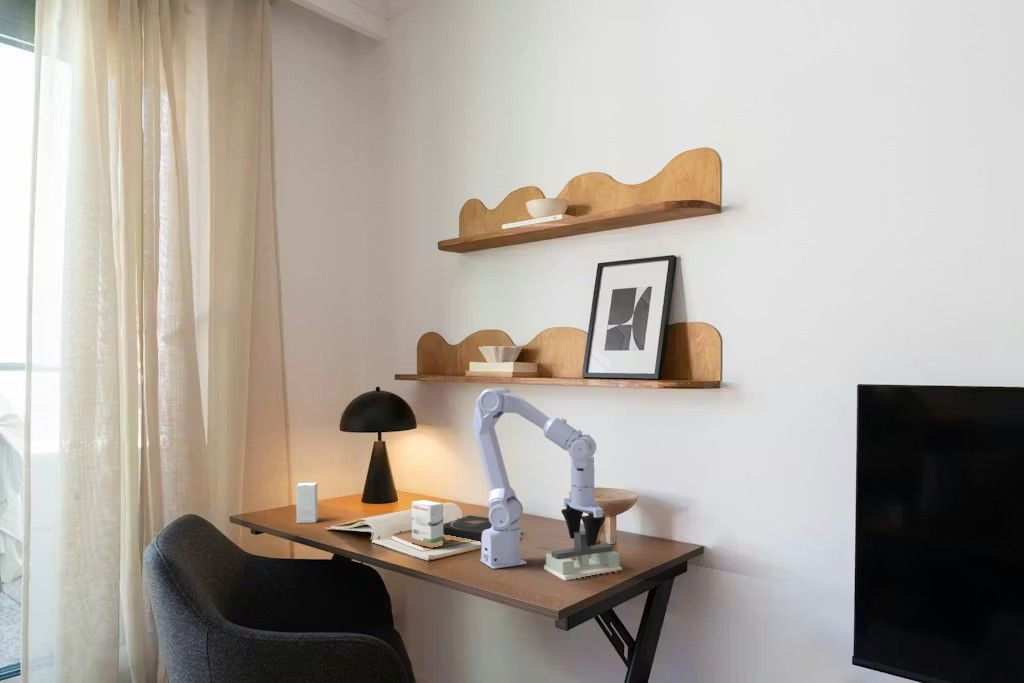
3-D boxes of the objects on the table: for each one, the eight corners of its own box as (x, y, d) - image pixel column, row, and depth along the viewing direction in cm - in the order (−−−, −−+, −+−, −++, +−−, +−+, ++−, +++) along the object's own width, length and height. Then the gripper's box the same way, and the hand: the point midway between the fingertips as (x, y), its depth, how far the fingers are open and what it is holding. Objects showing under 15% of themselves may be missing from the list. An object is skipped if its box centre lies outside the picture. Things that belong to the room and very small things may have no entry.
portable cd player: (467, 528, 212) (467, 515, 212) (515, 535, 203) (515, 521, 203) (435, 539, 197) (435, 526, 198) (485, 548, 189) (485, 533, 189)
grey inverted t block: (557, 559, 162) (557, 538, 162) (551, 556, 165) (551, 535, 165) (613, 551, 169) (613, 530, 170) (606, 548, 172) (606, 528, 172)
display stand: (565, 580, 159) (565, 563, 159) (544, 569, 168) (544, 552, 168) (621, 571, 166) (621, 554, 166) (598, 560, 175) (598, 544, 175)
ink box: (444, 545, 189) (444, 502, 190) (430, 549, 186) (430, 505, 186) (424, 540, 195) (424, 498, 195) (410, 543, 191) (410, 501, 192)
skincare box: (318, 520, 220) (318, 482, 221) (315, 523, 216) (316, 484, 216) (298, 520, 219) (298, 482, 220) (295, 523, 215) (295, 484, 215)
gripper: (613, 489, 163) (613, 546, 163) (580, 479, 176) (580, 533, 176) (588, 491, 160) (588, 550, 159) (556, 481, 173) (556, 536, 172)
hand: (582, 541), depth 167 cm, fingers open, 7 cm apart
